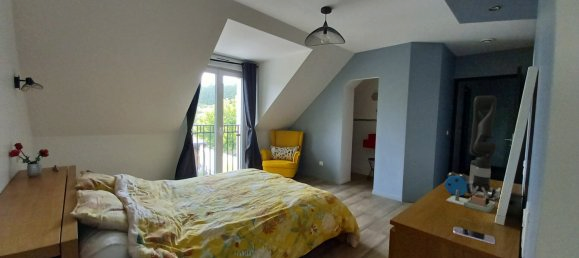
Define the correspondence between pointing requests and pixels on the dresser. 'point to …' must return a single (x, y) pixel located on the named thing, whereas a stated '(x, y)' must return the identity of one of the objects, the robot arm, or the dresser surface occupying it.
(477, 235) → the mobile phone
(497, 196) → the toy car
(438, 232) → the dresser surface
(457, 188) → the alarm clock
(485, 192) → the robot arm
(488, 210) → the tray
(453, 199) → the stake board
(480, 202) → the ring
